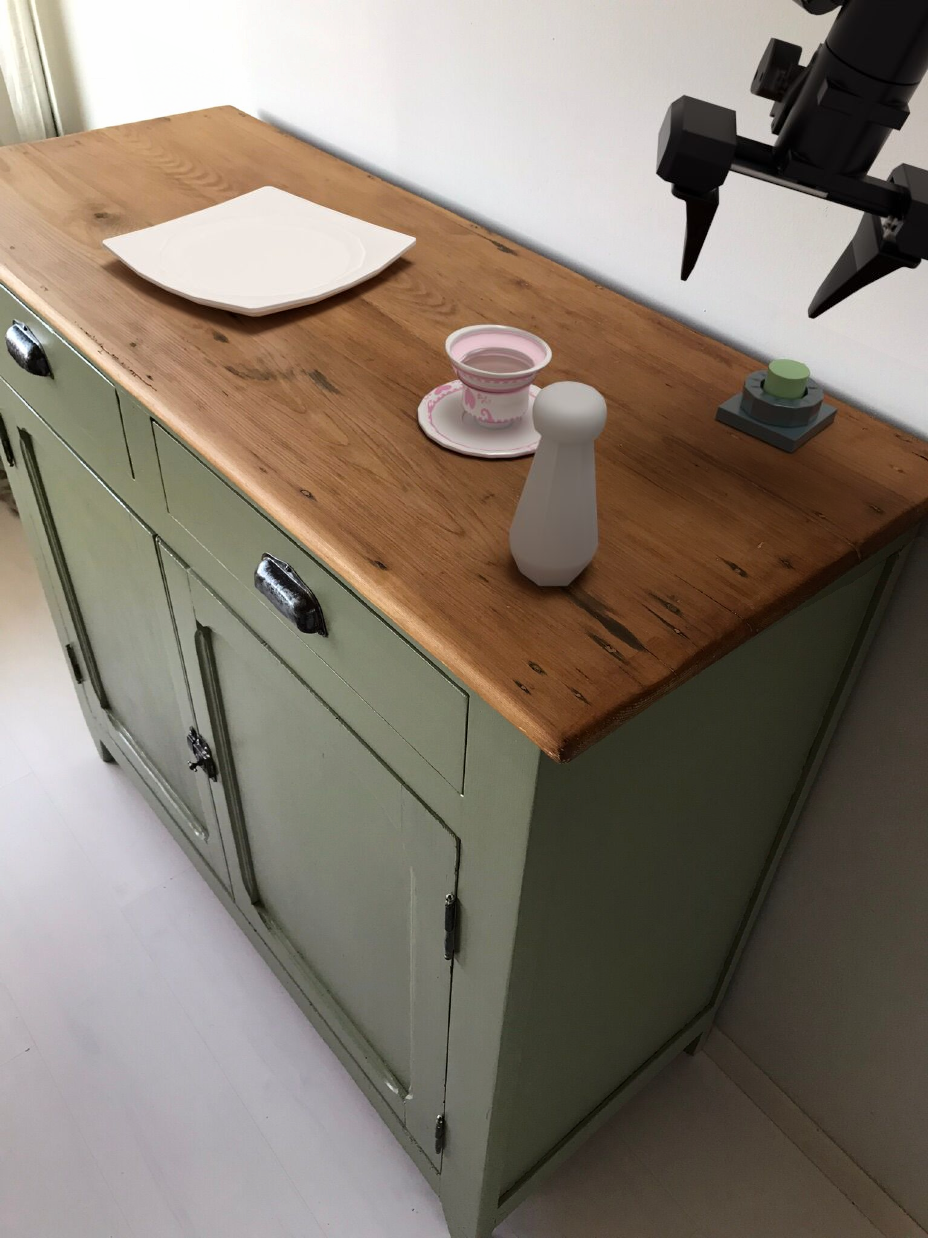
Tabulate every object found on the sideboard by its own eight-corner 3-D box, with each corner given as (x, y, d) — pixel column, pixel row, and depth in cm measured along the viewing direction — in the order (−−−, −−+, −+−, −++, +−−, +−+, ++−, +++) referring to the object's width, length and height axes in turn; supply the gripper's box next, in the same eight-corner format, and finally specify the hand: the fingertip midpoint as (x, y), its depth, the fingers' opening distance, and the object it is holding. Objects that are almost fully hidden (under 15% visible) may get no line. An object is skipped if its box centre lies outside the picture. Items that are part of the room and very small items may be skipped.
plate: (255, 346, 85) (252, 317, 83) (89, 267, 96) (83, 241, 94) (433, 264, 99) (434, 238, 97) (271, 204, 110) (269, 180, 108)
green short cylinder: (810, 392, 77) (817, 368, 75) (790, 406, 75) (797, 382, 74) (775, 377, 78) (781, 354, 77) (755, 391, 77) (761, 367, 75)
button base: (833, 421, 79) (844, 388, 77) (791, 453, 75) (801, 420, 73) (759, 389, 82) (768, 357, 80) (715, 419, 78) (722, 386, 76)
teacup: (595, 417, 78) (605, 347, 73) (504, 480, 71) (509, 406, 67) (481, 368, 83) (484, 300, 79) (386, 421, 76) (384, 349, 72)
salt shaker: (548, 608, 61) (571, 430, 52) (488, 563, 64) (500, 388, 55) (611, 571, 63) (642, 397, 55) (550, 530, 67) (571, 359, 58)
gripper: (1002, 47, 58) (863, 268, 70) (713, -47, 57) (622, 195, 69) (1041, 133, 51) (879, 361, 64) (714, 30, 50) (613, 283, 62)
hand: (747, 295), depth 65 cm, fingers open, 9 cm apart
